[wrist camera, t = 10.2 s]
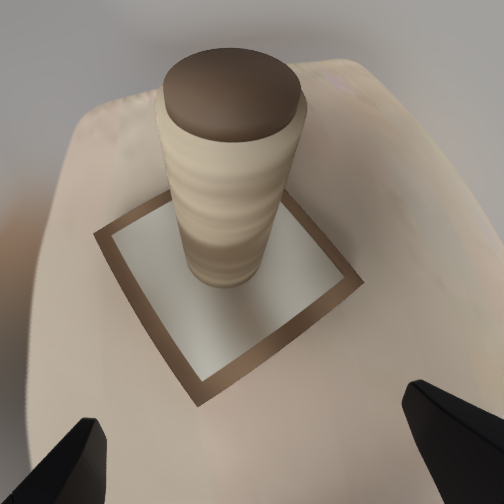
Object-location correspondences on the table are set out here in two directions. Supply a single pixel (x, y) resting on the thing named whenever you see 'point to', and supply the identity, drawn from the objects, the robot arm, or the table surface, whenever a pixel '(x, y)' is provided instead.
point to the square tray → (223, 293)
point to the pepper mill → (228, 155)
